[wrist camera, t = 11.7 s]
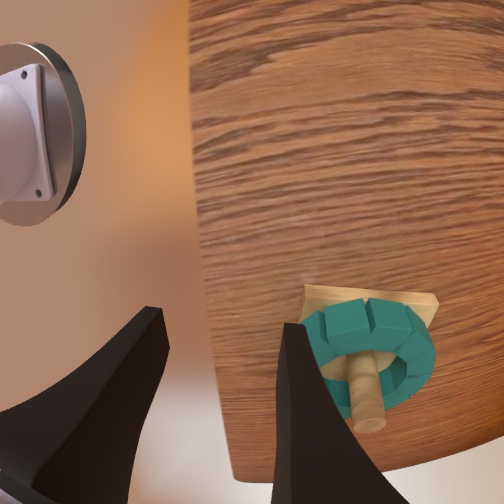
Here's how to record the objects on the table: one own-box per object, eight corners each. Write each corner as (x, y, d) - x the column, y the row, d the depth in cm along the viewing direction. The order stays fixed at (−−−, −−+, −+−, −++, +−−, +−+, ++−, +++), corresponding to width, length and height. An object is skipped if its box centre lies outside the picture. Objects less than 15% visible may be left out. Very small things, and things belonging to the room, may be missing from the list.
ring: (267, 386, 23) (265, 411, 21) (303, 285, 17) (304, 314, 15) (385, 397, 23) (389, 420, 21) (450, 309, 17) (463, 335, 15)
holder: (287, 371, 24) (282, 453, 18) (304, 283, 19) (307, 383, 13) (391, 374, 23) (405, 449, 17) (434, 292, 18) (471, 378, 12)
